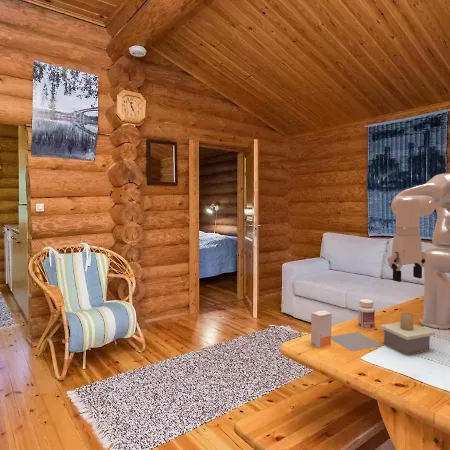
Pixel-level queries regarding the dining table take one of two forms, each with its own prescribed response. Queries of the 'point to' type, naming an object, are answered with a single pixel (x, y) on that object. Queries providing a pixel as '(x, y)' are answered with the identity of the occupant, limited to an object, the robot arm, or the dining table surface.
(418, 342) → the open grey box
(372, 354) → the dining table surface
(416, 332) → the lid
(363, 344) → the mat
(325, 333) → the skincare box
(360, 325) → the pill bottle
